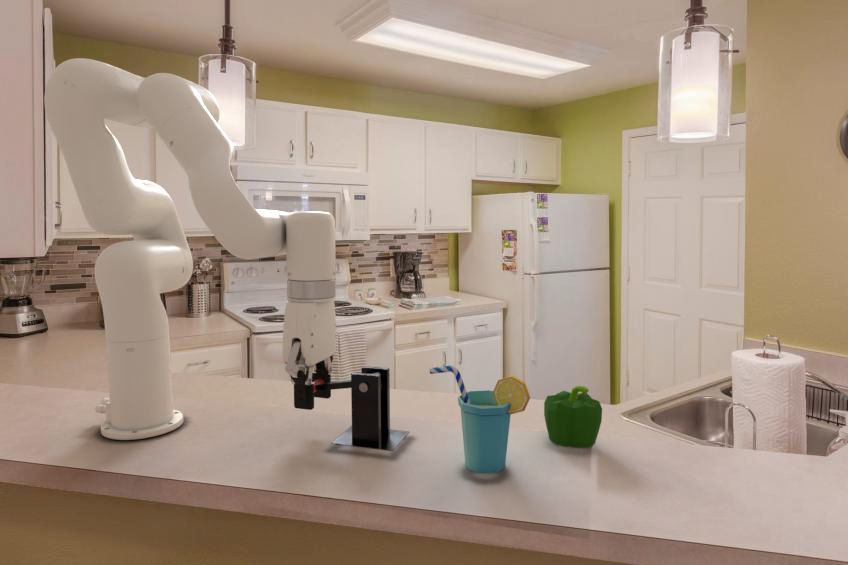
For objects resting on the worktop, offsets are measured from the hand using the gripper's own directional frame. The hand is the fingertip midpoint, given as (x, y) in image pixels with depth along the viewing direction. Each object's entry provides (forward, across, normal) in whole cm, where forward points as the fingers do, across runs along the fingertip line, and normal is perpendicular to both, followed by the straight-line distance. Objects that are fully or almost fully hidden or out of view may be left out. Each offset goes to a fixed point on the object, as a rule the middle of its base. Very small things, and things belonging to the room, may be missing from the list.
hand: (313, 401), depth 92 cm
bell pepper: (+6, -8, +40) cm, 41 cm away
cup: (+6, +5, +28) cm, 29 cm away
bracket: (+6, 0, +10) cm, 12 cm away
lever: (-2, 0, +6) cm, 6 cm away
